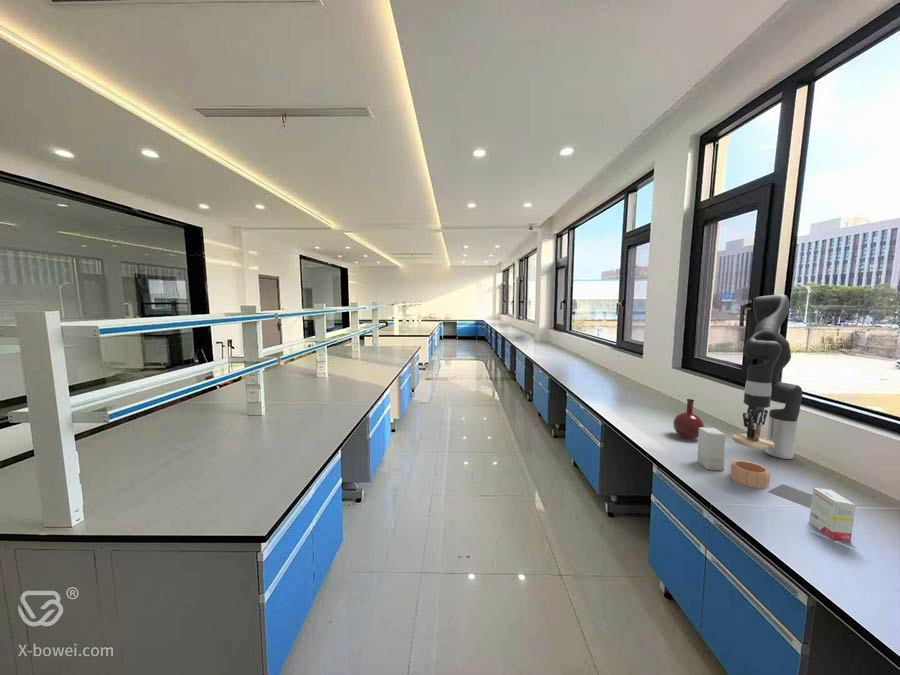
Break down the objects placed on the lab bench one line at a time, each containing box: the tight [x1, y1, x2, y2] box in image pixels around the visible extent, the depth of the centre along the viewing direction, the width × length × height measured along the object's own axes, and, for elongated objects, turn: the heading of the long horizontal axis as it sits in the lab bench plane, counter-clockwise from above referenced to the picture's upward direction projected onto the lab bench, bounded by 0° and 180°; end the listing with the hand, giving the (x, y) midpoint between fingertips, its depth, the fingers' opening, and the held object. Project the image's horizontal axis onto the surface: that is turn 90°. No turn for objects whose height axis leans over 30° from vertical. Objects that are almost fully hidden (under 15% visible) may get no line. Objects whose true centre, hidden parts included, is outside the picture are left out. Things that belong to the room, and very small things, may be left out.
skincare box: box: [696, 427, 726, 472], centre depth 146 cm, size 8×7×16 cm
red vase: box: [672, 398, 706, 440], centre depth 176 cm, size 13×13×20 cm
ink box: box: [808, 487, 856, 542], centre depth 104 cm, size 9×5×12 cm, turn 168°
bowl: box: [729, 459, 771, 489], centre depth 134 cm, size 11×11×6 cm
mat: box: [767, 483, 813, 509], centre depth 123 cm, size 12×12×1 cm
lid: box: [732, 424, 774, 450], centre depth 132 cm, size 12×12×7 cm
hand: (753, 436), depth 132 cm, fingers closed on lid, 3 cm apart
